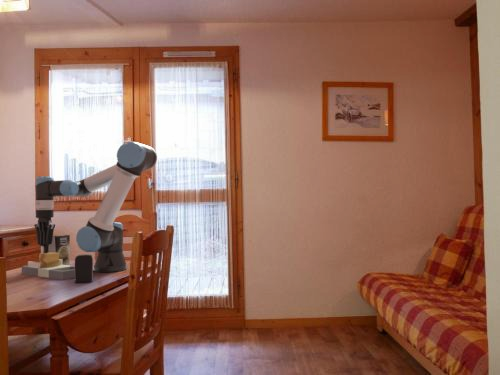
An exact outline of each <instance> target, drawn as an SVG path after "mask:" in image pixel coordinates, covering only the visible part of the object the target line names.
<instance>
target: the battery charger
mask: <svg viewBox="0 0 500 375" xmlns="http://www.w3.org/2000/svg"><path fill="white" fill-rule="evenodd" d="M74 266H75V278H74V283H75V284H85V283H91V282H93V272H94V258H93V255H92V254H90V253H89V254H88V253H87V254H78V255H76V256H75V258H74Z"/></svg>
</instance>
